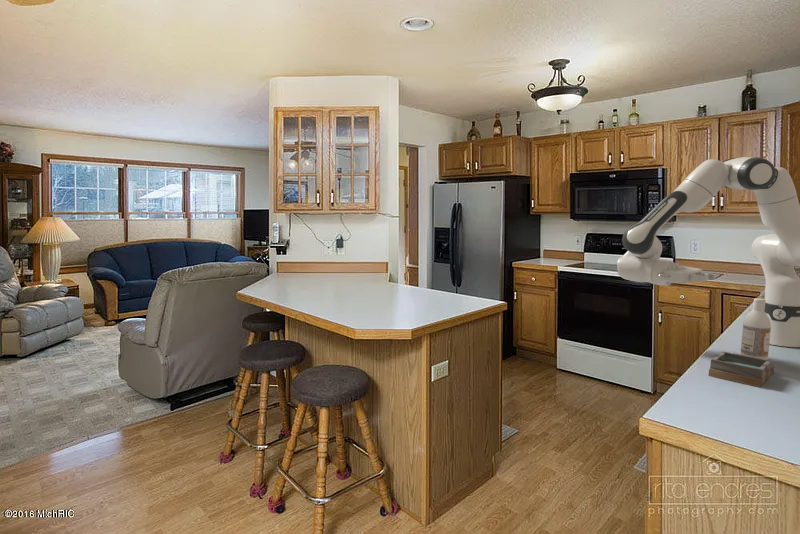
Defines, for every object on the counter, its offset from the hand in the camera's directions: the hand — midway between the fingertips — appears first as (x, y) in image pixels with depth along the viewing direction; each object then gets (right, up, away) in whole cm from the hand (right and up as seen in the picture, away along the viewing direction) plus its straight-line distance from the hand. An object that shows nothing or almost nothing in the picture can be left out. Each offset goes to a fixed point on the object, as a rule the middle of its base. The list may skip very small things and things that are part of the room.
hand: (710, 278), depth 158 cm
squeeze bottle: (+47, -21, +39) cm, 65 cm away
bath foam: (+9, -26, -7) cm, 29 cm away
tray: (-3, -27, -18) cm, 33 cm away
